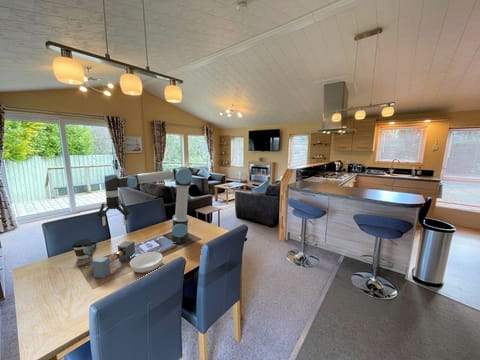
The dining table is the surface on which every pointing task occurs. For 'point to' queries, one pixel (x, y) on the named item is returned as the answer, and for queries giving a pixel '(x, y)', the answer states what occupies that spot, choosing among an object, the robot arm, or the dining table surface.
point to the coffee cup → (80, 248)
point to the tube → (116, 255)
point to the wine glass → (90, 250)
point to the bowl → (146, 262)
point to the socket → (101, 267)
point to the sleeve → (127, 250)
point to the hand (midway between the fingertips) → (114, 224)
